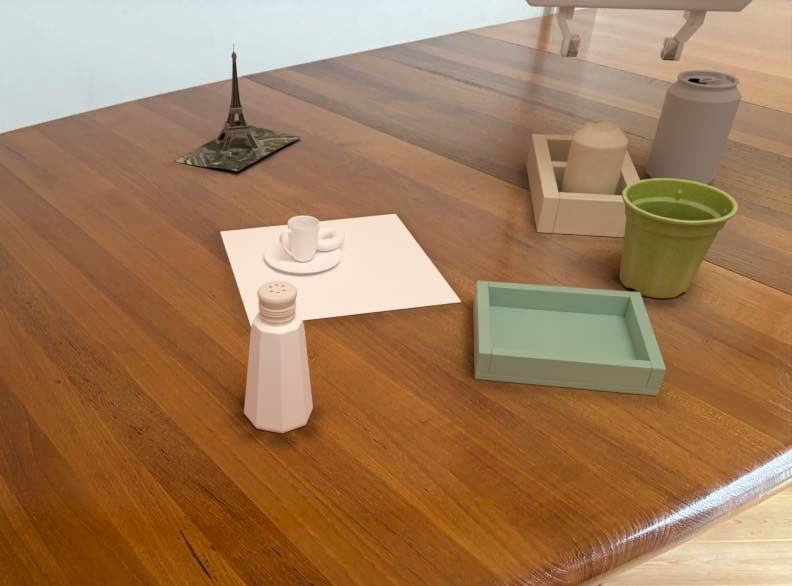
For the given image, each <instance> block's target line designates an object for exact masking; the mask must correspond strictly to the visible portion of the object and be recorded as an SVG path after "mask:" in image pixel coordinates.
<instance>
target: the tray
mask: <svg viewBox="0 0 792 586" xmlns="http://www.w3.org/2000/svg"><path fill="white" fill-rule="evenodd" d="M642 296H643V295H641V293H640V292H637V291H631V290H630V291H629V290H616V289H615V290H614V289H601V288H587V287H573V286H559V285H544V284H531V283H519V282H517V283H516V282H504V281H503V282H502V281H492V280H491V281H489V280H477V279H476V283H475V290H474V297H473V302H472V303H473V304H472V306H473V307H472V316H473V317H472V319H473V320H472V321H473V366H474V367H473V369H474V370H473V371H474V372H473V373H474V376H473V377H474V380H481V381H492V382H502V383H512V384H513V383H514V384H525V385H533V386H534V385H535V386H545V387H557V388H566V389H568V388H569V389H578V390H588V391H600V392H601V391H602V392H609V393H621V394H630V395H631V394H633V395H642V396H652V397H653V396H654V397H658V396H659V395H658V394H659V391H660V389H661V386H662V383H663V380H664V377H665V375H666V371H667V368H666V365H665V361H664V359H663V355H662V352H661V350H660V347H659V344H658V340H657V338H656V335H655V332H654V329H653V326H652V324H651V320H650V317H649V315H648V311H647V308H646V304H645V302H644V299H643V297H642Z"/></svg>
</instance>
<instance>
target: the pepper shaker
mask: <svg viewBox="0 0 792 586" xmlns="http://www.w3.org/2000/svg"><path fill="white" fill-rule="evenodd" d="M257 295H258V298H259V303H258V304H259V310H260V311H259V312H258V313H257V315H256V317H255V318H254V320H253V322H252V326H250V335H249V336H250V337H249V347H248V349H249V351H248V359H247V372H246V383H245V395H244V405H243V414H244V415H245V417H246V418H247V419H248V420H249V421H250V423H251V424H252V425H253V426H254V428H255V429H256V430H261V431H267V432H273V433H276V434H277V433H278V434H284V433H287V432H291V431H294V430H296V429H299V428H302V427H304V426H306V425H307V423H308V421H309V419H310V416H311V414H312V412H313V410H314V405H313V397H312V396H313V395H312V388H311V376H310V367H309V359H308V358H309V357H308V350H307V349H308V348H307V340H306V331H305V329H306V328H305V323H304V320H303V319H302V318H301V317H300V316H299V315H298V314H297V313H296V311H295V310H296V297H297V289H296V288H295V287H294V286H293V285H292V284H290V283H287V282H283V281H272V282H268V283H265V284H263V285H262V286H260V288H259V289H258V291H257Z"/></svg>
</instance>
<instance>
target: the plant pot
mask: <svg viewBox="0 0 792 586" xmlns="http://www.w3.org/2000/svg"><path fill="white" fill-rule="evenodd" d="M622 198H623V201H624V203H625V215H626V224H625V234H624V237H623V245H622V253H621V261H620V270H619V281H620V283H621V284H622V285H623V286H624V287H625V288H627V289H632V290H634V291H635V292H640V293H641V296H644V297H647V298H653V299H673V298H677V297H678V296H679V295H681V294H683V293H687V291H688V290H689V289H690V287H691V284H692V283H693V281H694V278H695V277H696V275H697V274H698V271H699V269H700V268H701V264H702V263H703V261H704V260H705V257H706V256H707V254H708V252H709V250H710V248H711V246H712V244H713V243H714V240H716V237H717V235H718V233H719V232H720V231H721V230H722V229H723V228H725V225H726V224H727V222H728V221H729V220H731V219H732V218H734V217H735V215H737V212H738V210H739V206H738V205H739V204H738V202H737V201H736V199H735V198H734V197H733V196H732V195H730V194H729V193H727V191H723V190H722V189H720V188H718V187H715V186H713V185H710V184H707V185H706V184H703V183H699V182H694V181H689V180H683V179H674V178H653V179H651V178H646V179H640V181H636V182H634V183H631V184H629V185H628V186H627V187H626V188H625V189H624V190H623V193H622Z"/></svg>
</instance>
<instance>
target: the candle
mask: <svg viewBox="0 0 792 586" xmlns="http://www.w3.org/2000/svg"><path fill="white" fill-rule="evenodd" d="M572 135H573V136H572V141H571V145H570V150H569V155H568V160H567V164H566V169H565V174H564V178H563V183H562V188H561V192H565V193H584V194H603V195H615V192H616V188H617V184H618V180H619V176H620V172H621V168H622V164H623V161H624V157H625V153H626V149H627V148H628V144H629V139H628V137H627V136H626V135H625V133H624V132H623V130H622V129H621V127H620V125H618V124H613V123H612V122H611V121H610V120H603V121H600V122H597V123H595V122H594V121H588V122H587V123H585V124H584V125H583V126H582V127H581V128H580V129H578V130H577V131H576V132H575V133H573V134H572ZM627 150H628V149H627Z"/></svg>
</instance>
